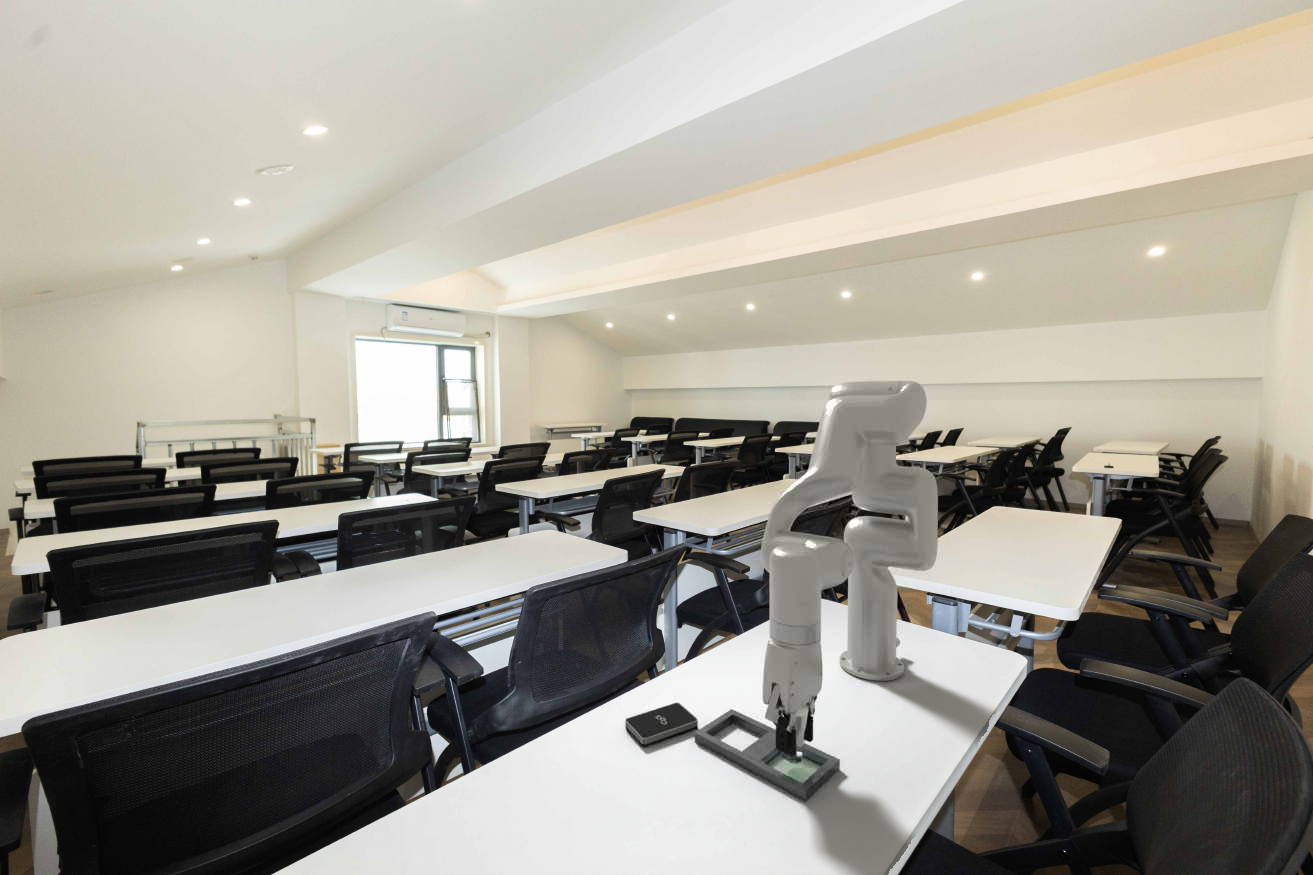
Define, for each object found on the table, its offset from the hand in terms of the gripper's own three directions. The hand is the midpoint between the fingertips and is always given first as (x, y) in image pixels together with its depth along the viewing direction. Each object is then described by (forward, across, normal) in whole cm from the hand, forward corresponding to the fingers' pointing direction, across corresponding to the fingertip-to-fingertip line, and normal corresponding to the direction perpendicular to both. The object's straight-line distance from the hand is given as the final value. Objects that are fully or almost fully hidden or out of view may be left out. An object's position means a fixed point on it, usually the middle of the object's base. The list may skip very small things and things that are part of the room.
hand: (794, 743), depth 90 cm
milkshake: (+3, 0, 0) cm, 3 cm away
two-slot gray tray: (+4, 0, -5) cm, 7 cm away
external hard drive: (+5, +6, -22) cm, 24 cm away
